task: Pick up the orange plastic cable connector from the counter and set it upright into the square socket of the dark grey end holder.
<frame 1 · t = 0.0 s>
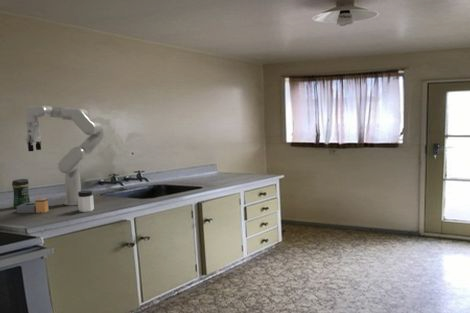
hand: (34, 150, 262), 37 cm above the counter, tool pointing down, fingers open, 9 cm apart
jar: (86, 210, 245), on the counter
connector: (42, 211, 245), on the counter
holder: (30, 210, 249), on the counter
coffee jar: (22, 207, 260), on the counter
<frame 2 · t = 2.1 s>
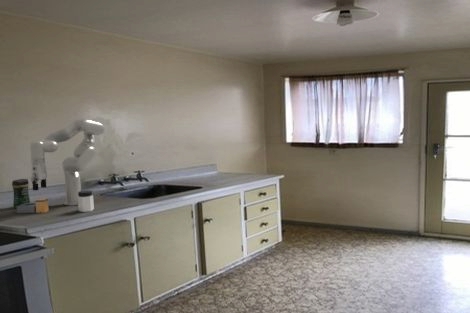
hand: (39, 188, 243), 15 cm above the counter, tool pointing down, fingers open, 9 cm apart
nothing on the counter moved.
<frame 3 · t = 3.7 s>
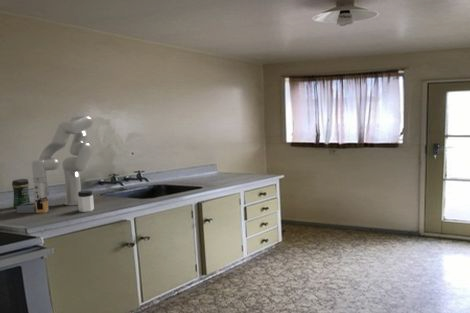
hand: (42, 208, 245), 2 cm above the counter, tool pointing down, fingers closed on connector, 4 cm apart
connector: (42, 211, 245), on the counter, touching gripper
everything else where it was.
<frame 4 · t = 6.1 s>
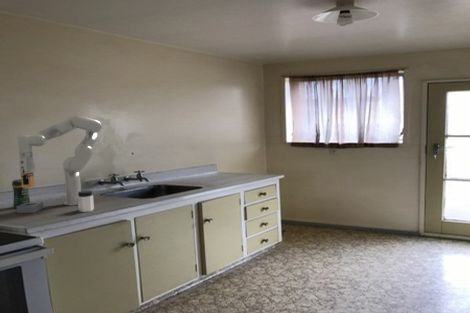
hand: (28, 183, 247), 17 cm above the counter, tool pointing down, fingers closed on connector, 4 cm apart
connector: (28, 187, 247), point 15 cm above the counter, touching gripper
everything else where it was.
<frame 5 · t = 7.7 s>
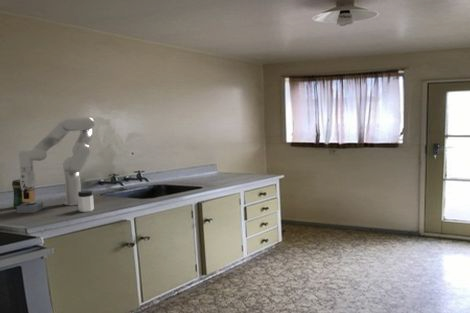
hand: (28, 197, 248), 8 cm above the counter, tool pointing down, fingers closed on connector, 4 cm apart
connector: (28, 201, 248), point 6 cm above the counter, touching gripper
everything else where it was.
when the fingers open (5 cm above the counter, at t = 8.7 s): connector drops 2 cm, resting on holder.
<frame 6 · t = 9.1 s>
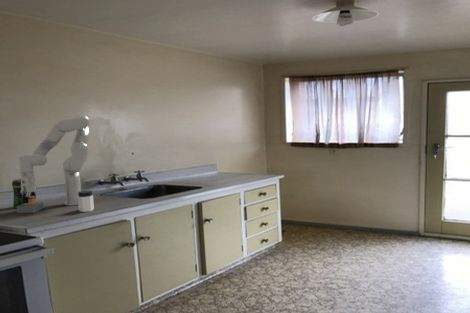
hand: (29, 201, 248), 6 cm above the counter, tool pointing down, fingers open, 8 cm apart
connector: (30, 208, 249), point 1 cm above the counter, touching holder
everything else where it was.
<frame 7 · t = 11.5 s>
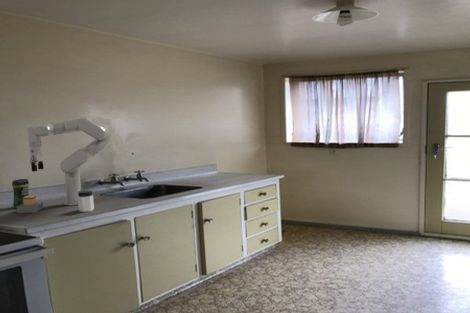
hand: (37, 170, 260), 24 cm above the counter, tool pointing down, fingers open, 9 cm apart
nothing on the counter moved.
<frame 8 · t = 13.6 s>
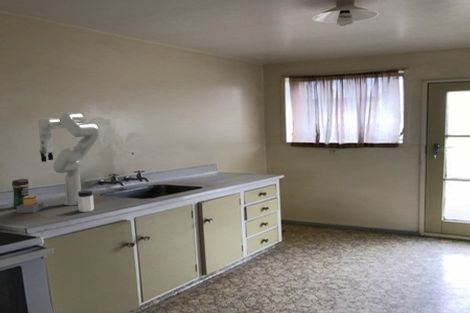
hand: (47, 160, 275), 28 cm above the counter, tool pointing down, fingers open, 9 cm apart
nothing on the counter moved.
at the end: connector 0.2 cm off-centre on the holder, point 1.0 cm above the holder's base; connector tilted 0°; the gripper is holding nothing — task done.
